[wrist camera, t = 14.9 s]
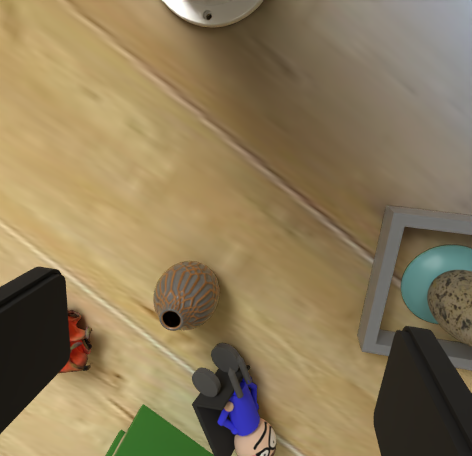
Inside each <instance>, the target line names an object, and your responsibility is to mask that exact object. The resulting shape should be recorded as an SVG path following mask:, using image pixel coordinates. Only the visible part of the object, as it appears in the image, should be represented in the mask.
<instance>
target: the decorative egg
mask: <svg viewBox="0 0 472 456" xmlns="http://www.w3.org/2000/svg"><path fill="white" fill-rule="evenodd" d="M427 301H428V306H429V309H430V311H431V313H432V315H433V317H434V318H435V320H436V321H437V322H438V323H439V325H440V326H441V327H442V328H443V329H444V330H446V331H447V332H448V333H449V334H451V335H452V336H453V337H455V338H456V339H458V340H459V341H461V342H463V343H465V344H467V345H468V346H471V347H472V271H468V270H450V271H447V272H444V273H442V274H440V275H439V276H437V277H436V278H435V279H434V280H433V281H432V283H431V285H430V287H429V289H428V294H427Z"/></svg>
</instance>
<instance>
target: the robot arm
mask: <svg viewBox="0 0 472 456" xmlns="http://www.w3.org/2000/svg"><path fill="white" fill-rule="evenodd" d="M162 1H163V2H164V3H165V4H166V5H167V7H168V8H169V9H170V10H171V11H173V12H174V13H175V14H176V15H177V16H179V17H181V18H182V19H184V20H186V21H187V22H189V23H192V24H195V25H198V26H202V27H211V28H214V27H223V26H227V25H230V24H233V23H236V22H238V21H240V20H242V19H243V18H245V17H247V16H249V15H250V14H251V13H252V12H253V11H254V10H255V9H257V8H258V7H259V6H260V5H261V3H262V2H263V1H264V0H162ZM209 15H212V18H211V19H210V20H208V19H207V18H208V16H209ZM70 353H71V350H70V337H69V323H68V309H67V295H66V281H65V278H64V276H62V275H61V273H60V271H59V270H57V269H51V268H44V267H36V268H33V269H32V270H30V271H28V272H26V273H24V274H23V275H21V276H19V277H17V278H15V279H14V280H12V281H10V282H8V283H7V284H5V285H3V286H1V287H0V434H1V433H2V432H3V431H4V429H5V428H6V427H7V426H8V425H9V424H10V423H11V422H12V421H13V420H14V419H15V418H16V417H17V416H18V415H19V414H20V413H21V412H22V411H23V409H24V408H25V407H26V406H27V405H28V404H29V403H30V402H31V401H32V400H33V399H34V398H35V397H36V396H37V395H38V394H39V393H40V392H41V391H42V390H43V388H44V387H45V386H46V385H47V384H48V383H49V382H50V381H51V380H52V379H53V378H54V377H55V376H56V375H57V374H58V373H59V372H60V371H61V370H62V369H63V367H64V366H65V365H66V364H67V362H68V361H69V358H70ZM374 428H375V432H376V436H377V440H378V444H379V448H380V452H381V456H472V393H471V392H470V391H469V389H468V387H467V386H466V384H465V383H464V381H463V380H462V378H461V376H460V375H459V373H458V372H457V370H456V369H455V367H454V365H453V364H452V362H451V361H450V359H449V358H448V356H447V354H446V353H445V351H444V350H443V348H442V347H441V345H440V343H439V342H438V340H437V339H436V337H435V336H434V334H433V332H432V331H431V330H428V329H422V328H416V327H410V326H405V327H404V328H403V330H402V331H400V330H397V331H396V332H395V335H394V338H393V342H392V346H391V350H390V353H389V357H388V361H387V365H386V369H385V372H384V376H383V380H382V384H381V388H380V391H379V395H378V399H377V403H376V407H375V411H374Z"/></svg>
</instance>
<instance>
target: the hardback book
mask: <svg viewBox="0 0 472 456" xmlns="http://www.w3.org/2000/svg"><path fill="white" fill-rule="evenodd" d="M105 456H214V455H213V454H211V453H210V452H209V451H207V450H206V449H205V448H203V447H202V446H200V445H199V444H198V443H196V442H195V441H194V440H192V439H191V438H189V437H188V436H187V435H185V434H184V433H182V432H181V431H180V430H178V429H177V428H176V427H174V426H173V425H171V424H170V423H169V422H167V421H166V420H165V419H163V418H162V417H160V416H159V415H158V414H156V413H155V412H154V411H152V410H151V409H149V408H148V407H147V406H145V405H144V404H143V405H142V406H141V408H140V409H139V411H138V413H137V415H136V416H135V418H134V420H133V422H132V424H131V426H130V427H129V429H128V431H127V432H126V433H125V432H124V431H122V430H121V431H120V432H119V433H118V435H117V436H116V438H115V440H114V442H113V443H112V445H111V447H110V448H109V450H108V452H107V454H106V455H105Z"/></svg>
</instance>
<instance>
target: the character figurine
mask: <svg viewBox="0 0 472 456" xmlns="http://www.w3.org/2000/svg"><path fill="white" fill-rule="evenodd" d="M211 357H212V360H213V362H214V364H215V365H216V366H217V367H218V368H219V369H218V371H217V372H216V373H215V374H214V373H213V372H212V371H210V370H208V369H206V368H198V369H197V370H196V372H195V373H194V374H193V376H192V381H193V384H194V386H195V387H196V389H197V390H198V391H199V392H200V394H199V396H198V397H197V398H196V400H195V401H194V402H193V404H192V406H193V408H194V410H195V413H196V415H197V417H198V419H199V422H200V424H201V426H202V429H203V431H204V433H205V436H206V438H207V440H208V443H209V445H210V447H211V449H212V452H213V454H214V456H231V455H232V453H233V451H234V449H235V450H236V453H237V455H238V456H273V455H274V453H275V450H276V435H275V432H274V430H273V428H272V426H271V425H270V424H269V423H268V422H267V421H265V420H264V419H261V418H260V416H259V414H258V411H257V410H258V409H259V405H258V403H257V385H256V384H254V383H253V382H252V378H251V376H250V375H249V372H248V370H249V369H250V365H246V364H245V361H244V359H243V358H242V357H241V356H240V354H239V353H238V351H237V350H236V349H235V348H234V347H232V346H231V345H229V344H226V343H219V344H217V345H216V346H215V348H214V349H213V350H212V352H211ZM248 387H250V388H251V393H250V390H249V388H248Z"/></svg>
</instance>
